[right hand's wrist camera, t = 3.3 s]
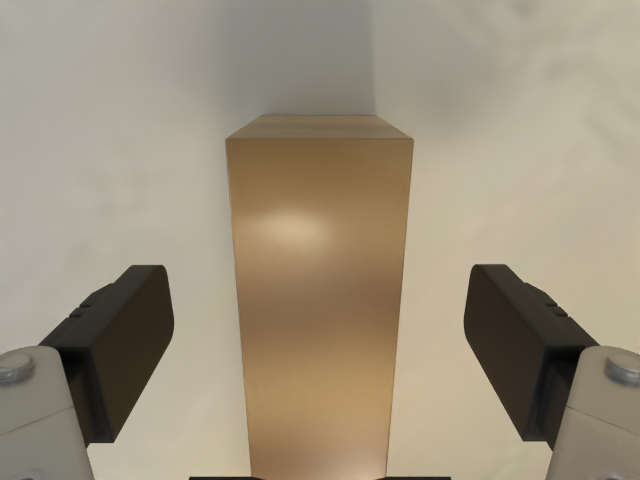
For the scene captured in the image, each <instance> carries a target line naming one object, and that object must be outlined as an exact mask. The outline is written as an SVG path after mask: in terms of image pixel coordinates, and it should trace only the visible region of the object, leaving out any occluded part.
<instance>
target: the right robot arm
mask: <svg viewBox="0 0 640 480" xmlns="http://www.w3.org/2000/svg"><path fill="white" fill-rule="evenodd" d="M173 330H174V315H173V309H172V302H171V296H170V289H169V282H168V276H167V272H166V269H165V267H164V266H163V265H132V266H130V267H129V268H128V269H127V270H126V271H125V272H124V273H123V274H122V275H121V276H120V277H119V278H118V279H117V280H116V281H115V282H114V283H110V284H108V285H107V286H105V287H103V288H101V289H99V290H97V291H95V292H93V293H92V294H91V295H90V296H89V297H88V298H86V299H85V300H84V301H83V302H82V303H81V304H80V307H79V308H76V309H75V310H74V311H73V312H72V313H71V314H70V315H69V318H66V319H65V320H63V321H62V322H61V323H60V324H59V325H58V326H57V327H56V328H55V329H54V330H53V331H52V332H51V333H50V334H49V335H48V336H47V337H46V338H45V339H44V340H43V341H42V342H41V343H39V344H38V345H37V346H30V347H24V348H19V349H16V350H12V351H9V352H6V353H4V354H1V355H0V480H95V479H94V475H93V472H92V468H91V465H90V461H89V458H88V454H87V451H86V449H87V447H88V445H89V444H90V443H114V441H115V439H116V438H117V436H118V434H119V432H120V431H121V429H122V427H123V425H124V423H125V422H126V420H127V418H128V416H129V415H130V413H131V411H132V409H133V407H134V406H135V404H136V402H137V400H138V398H139V397H140V395H141V393H142V391H143V390H144V388H145V386H146V384H147V382H148V381H149V379H150V377H151V375H152V374H153V372H154V370H155V368H156V366H157V365H158V363H159V361H160V359H161V357H162V356H163V354H164V352H165V350H166V349H167V347H168V345H169V343H170V341H171V339H172V335H173ZM464 331H465V335H466V339H467V341H468V343H469V345H470V347H471V348H472V350H473V352H474V354H475V356H476V357H477V359H478V361H479V363H480V365H481V366H482V368H483V370H484V372H485V374H486V375H487V377H488V379H489V381H490V383H491V384H492V386H493V388H494V390H495V392H496V393H497V395H498V397H499V399H500V401H501V402H502V404H503V406H504V408H505V410H506V411H507V413H508V415H509V417H510V419H511V420H512V422H513V424H514V426H515V428H516V430H517V431H518V433H519V435H520V437H521V439H522V440H523V441H546V442H547V443H548V445H549V447H550V448H551V450H552V451H553V454H552V458H551V461H550V465H549V468H548V472H547V475H546V479H545V480H640V355H639V354H636V353H634V352H631V351H628V350H624V349H621V348H616V347H610V346H600V345H599V344H598V343H597V342H596V341H595V340H594V339H593V338H592V337H591V336H590V335H589V334H588V333H587V332H586V331H585V330H584V329H582V328H581V327H580V326H579V325H578V324H577V323H576V322H575V321H574V320H573V319H572V318H571V317H568V314H567V313H566V312H565V311H564V310H563V309H562V308H561V307H558V306H557V303H556V302H555V301H554V300H552V299H551V298H550V297H549V296H548V295H547V294H546V293H545V292H543V291H541V290H540V289H538V288H536V287H534V286H532V285H530V284H528V283H524V282H523V281H522V280H521V279H520V278H519V277H518V276H517V275H516V274H515V273H514V272H513V271H512V270H511V269H510V268H509V267H508V266H507V265H505V264H476V265H474V266H473V268H472V270H471V274H470V280H469V286H468V293H467V300H466V307H465V313H464ZM189 480H264V479H260V478H257V477H189ZM376 480H451V477H383V478H380V479H376Z"/></svg>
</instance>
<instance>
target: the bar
mask: <svg viewBox="0 0 640 480" xmlns="http://www.w3.org/2000/svg"><path fill="white" fill-rule="evenodd" d="M413 145H414V140H413V139H412V138H411V137H409V136H408V135H406V134H404V133H403V132H401V131H400V130H398V129H396V128H395V127H393V126H392V125H390V124H388V123H387V122H385V121H384V120H382V119H381V118H379V117H377V116H376V115H261V116H260V117H258V118H257V119H255V120H254V121H252V122H251V123H249V124H248V125H246V126H245V127H243V128H241V129H240V130H238V131H237V132H235V133H234V134H232V135H231V136H229V137H228V138H226V139H225V146H226V159H227V171H228V184H229V197H230V210H231V222H232V235H233V248H234V260H235V273H236V286H237V299H238V311H239V324H240V337H241V349H242V362H243V375H244V387H245V400H246V413H247V426H248V438H249V451H250V464H251V476H252V477H257V478H260V479H264V480H376V479H380V478H383V477H386V470H387V458H388V446H389V434H390V422H391V410H392V398H393V386H394V374H395V362H396V350H397V338H398V326H399V314H400V302H401V290H402V278H403V266H404V254H405V242H406V229H407V217H408V205H409V193H410V181H411V169H412V157H413Z"/></svg>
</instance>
